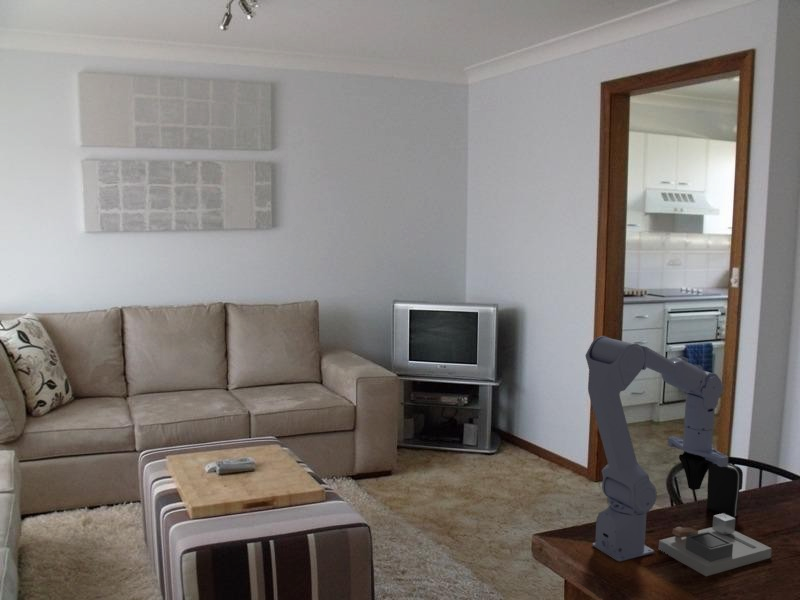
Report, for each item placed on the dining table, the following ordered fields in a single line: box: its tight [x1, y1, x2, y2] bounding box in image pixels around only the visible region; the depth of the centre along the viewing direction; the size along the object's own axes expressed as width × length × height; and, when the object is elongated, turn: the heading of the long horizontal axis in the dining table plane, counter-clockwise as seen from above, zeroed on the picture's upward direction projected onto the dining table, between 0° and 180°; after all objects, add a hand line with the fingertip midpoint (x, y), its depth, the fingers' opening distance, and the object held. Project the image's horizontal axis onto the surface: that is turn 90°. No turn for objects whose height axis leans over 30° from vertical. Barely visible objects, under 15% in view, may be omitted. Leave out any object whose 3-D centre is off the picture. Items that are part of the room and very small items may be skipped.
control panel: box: [658, 526, 772, 577], centre depth 149 cm, size 18×12×4 cm, turn 116°
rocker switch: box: [672, 527, 699, 537], centre depth 151 cm, size 5×2×1 cm, turn 116°
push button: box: [692, 534, 727, 548], centre depth 146 cm, size 4×4×2 cm
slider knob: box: [712, 513, 736, 535], centre depth 154 cm, size 3×3×3 cm
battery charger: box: [706, 462, 744, 518], centre depth 170 cm, size 7×4×11 cm, turn 38°
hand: (694, 488), depth 158 cm, fingers closed
